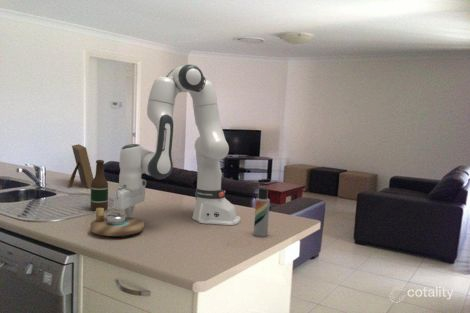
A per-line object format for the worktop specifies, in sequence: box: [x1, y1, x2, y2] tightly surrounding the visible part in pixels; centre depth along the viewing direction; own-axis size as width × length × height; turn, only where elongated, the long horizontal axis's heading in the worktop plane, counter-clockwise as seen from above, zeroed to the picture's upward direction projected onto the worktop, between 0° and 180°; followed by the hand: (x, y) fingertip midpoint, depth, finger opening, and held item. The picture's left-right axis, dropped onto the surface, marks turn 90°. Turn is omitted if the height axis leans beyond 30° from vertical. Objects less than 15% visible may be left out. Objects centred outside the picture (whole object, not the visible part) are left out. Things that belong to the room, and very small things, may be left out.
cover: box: [106, 211, 126, 226], centre depth 154 cm, size 7×7×4 cm
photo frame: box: [67, 143, 94, 189], centre depth 242 cm, size 15×22×25 cm
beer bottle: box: [90, 159, 109, 212], centre depth 186 cm, size 8×8×24 cm
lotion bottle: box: [253, 186, 271, 238], centre depth 160 cm, size 6×6×20 cm
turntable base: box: [101, 234, 133, 238], centre depth 155 cm, size 14×14×1 cm
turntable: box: [90, 208, 145, 237], centre depth 154 cm, size 20×20×7 cm
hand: (129, 216), depth 162 cm, fingers closed
